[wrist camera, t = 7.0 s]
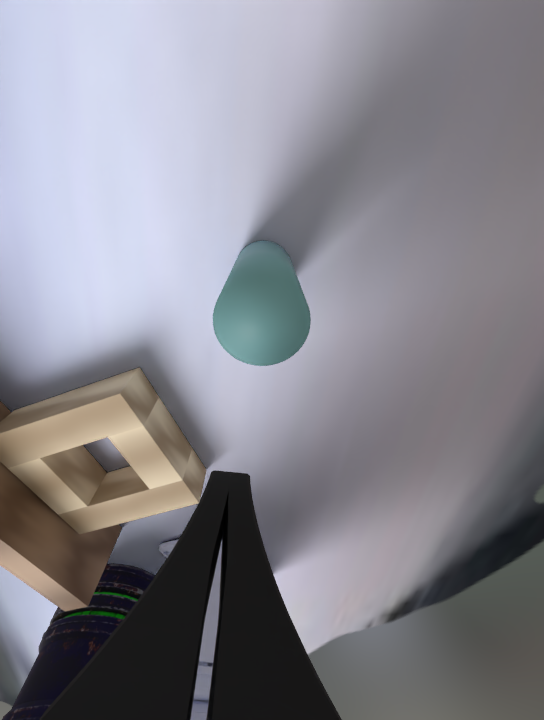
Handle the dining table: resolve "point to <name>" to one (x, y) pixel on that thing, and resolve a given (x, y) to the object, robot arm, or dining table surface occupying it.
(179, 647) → the robot arm
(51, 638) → the storage jar
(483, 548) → the dining table surface
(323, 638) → the dining table surface
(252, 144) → the dining table surface
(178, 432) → the light wooden square frame
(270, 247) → the dowel
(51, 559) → the backstop wall
